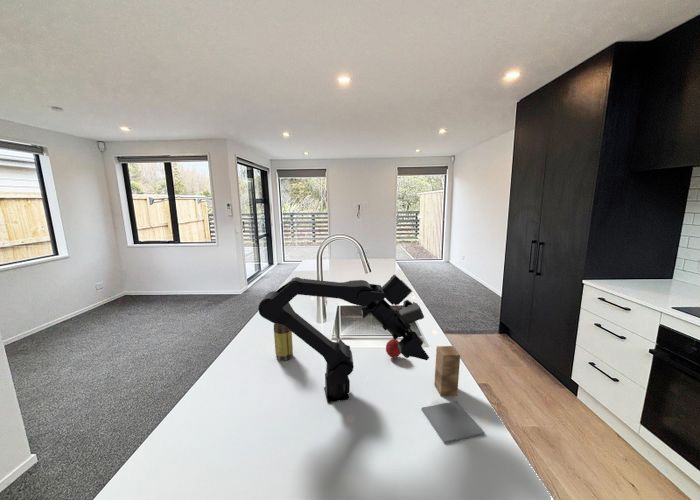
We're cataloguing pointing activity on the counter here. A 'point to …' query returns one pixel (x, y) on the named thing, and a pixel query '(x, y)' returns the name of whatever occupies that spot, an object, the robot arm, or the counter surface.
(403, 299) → the robot arm
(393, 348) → the onion
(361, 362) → the counter surface
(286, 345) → the sauce bottle
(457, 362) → the block
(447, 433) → the coaster
